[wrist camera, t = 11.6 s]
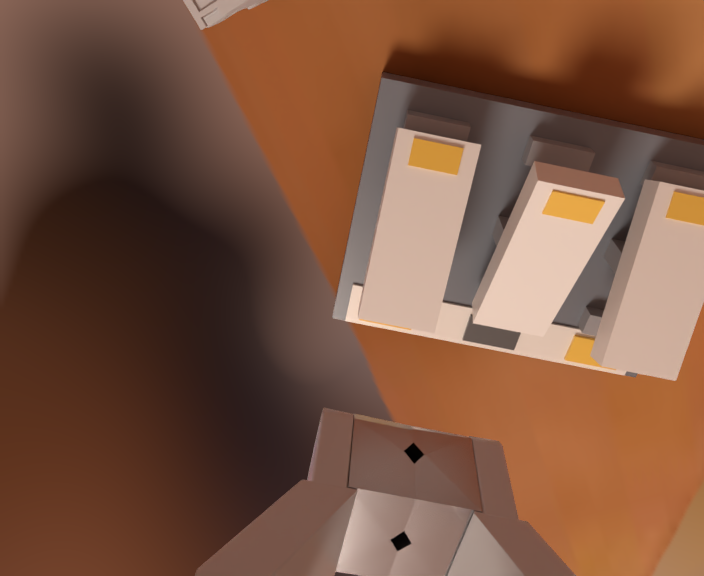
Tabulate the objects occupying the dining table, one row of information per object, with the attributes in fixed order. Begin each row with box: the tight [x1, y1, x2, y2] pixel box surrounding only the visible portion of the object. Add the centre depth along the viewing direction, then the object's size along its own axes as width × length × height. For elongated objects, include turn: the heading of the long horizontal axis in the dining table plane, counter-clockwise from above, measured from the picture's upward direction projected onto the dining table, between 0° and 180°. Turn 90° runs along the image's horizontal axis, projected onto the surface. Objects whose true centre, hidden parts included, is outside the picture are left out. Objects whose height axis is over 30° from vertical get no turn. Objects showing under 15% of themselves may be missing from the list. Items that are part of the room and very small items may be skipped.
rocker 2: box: [472, 161, 625, 337], centre depth 39 cm, size 12×5×2 cm, turn 169°
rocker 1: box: [358, 128, 481, 333], centre depth 39 cm, size 12×5×2 cm, turn 169°
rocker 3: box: [590, 179, 704, 381], centre depth 39 cm, size 12×5×2 cm, turn 169°
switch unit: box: [333, 72, 704, 377], centre depth 43 cm, size 18×24×5 cm
